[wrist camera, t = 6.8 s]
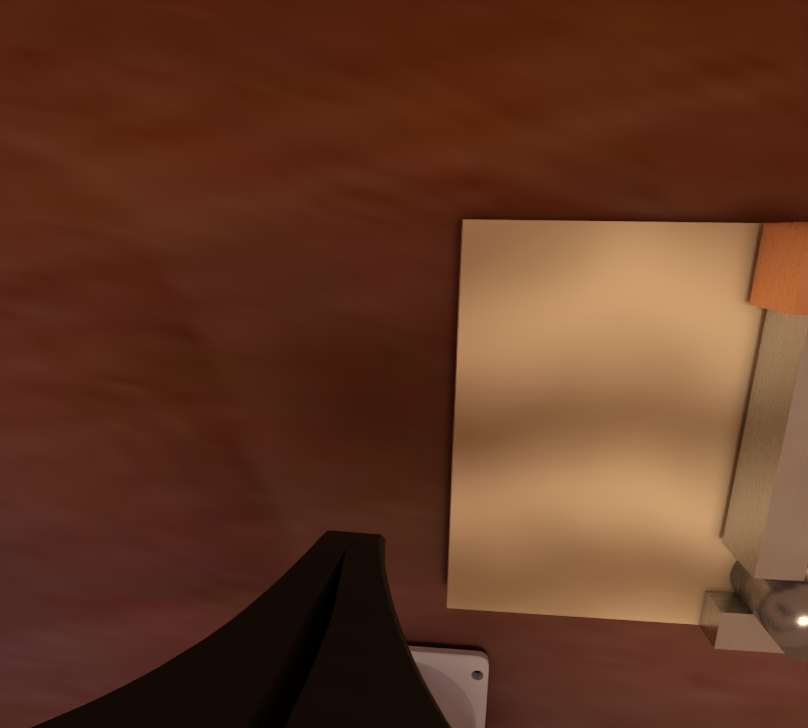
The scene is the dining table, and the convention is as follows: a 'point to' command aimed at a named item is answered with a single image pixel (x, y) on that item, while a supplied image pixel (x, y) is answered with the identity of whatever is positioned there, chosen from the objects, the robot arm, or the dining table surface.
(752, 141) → the dining table surface
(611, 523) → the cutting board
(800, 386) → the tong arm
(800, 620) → the tongs fixed
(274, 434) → the dining table surface
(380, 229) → the dining table surface
